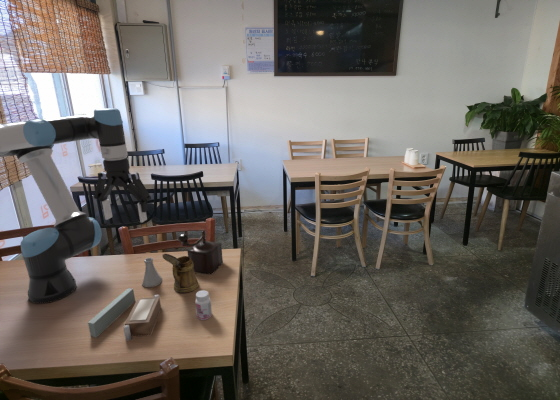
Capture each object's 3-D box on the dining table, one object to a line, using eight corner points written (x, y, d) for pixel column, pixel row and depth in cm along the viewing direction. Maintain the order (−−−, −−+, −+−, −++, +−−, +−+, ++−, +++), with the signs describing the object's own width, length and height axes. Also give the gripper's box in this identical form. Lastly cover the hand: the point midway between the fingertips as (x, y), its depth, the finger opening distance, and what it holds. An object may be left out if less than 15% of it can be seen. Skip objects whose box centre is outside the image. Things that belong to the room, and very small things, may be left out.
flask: (165, 278, 138) (161, 255, 134) (157, 288, 131) (153, 264, 128) (147, 277, 138) (143, 254, 135) (138, 287, 132) (134, 264, 128)
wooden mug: (160, 297, 125) (154, 252, 119) (183, 278, 137) (178, 236, 131) (182, 302, 122) (175, 255, 116) (203, 282, 134) (198, 239, 128)
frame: (127, 337, 106) (124, 323, 104) (140, 311, 118) (137, 297, 116) (150, 335, 106) (148, 321, 105) (161, 309, 119) (159, 296, 117)
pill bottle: (195, 320, 112) (192, 297, 110) (199, 311, 117) (196, 289, 114) (209, 320, 112) (207, 298, 109) (213, 311, 117) (211, 289, 114)
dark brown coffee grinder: (200, 259, 152) (196, 220, 146) (223, 262, 148) (220, 223, 143) (180, 277, 138) (175, 235, 132) (205, 281, 134) (201, 238, 129)
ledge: (91, 336, 106) (87, 322, 105) (130, 300, 124) (128, 288, 122) (127, 342, 103) (125, 328, 102) (162, 304, 121) (160, 292, 119)
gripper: (73, 159, 112) (87, 221, 119) (142, 161, 106) (152, 226, 113) (91, 154, 119) (102, 213, 126) (156, 156, 113) (164, 217, 120)
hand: (126, 219), depth 119 cm, fingers open, 13 cm apart
